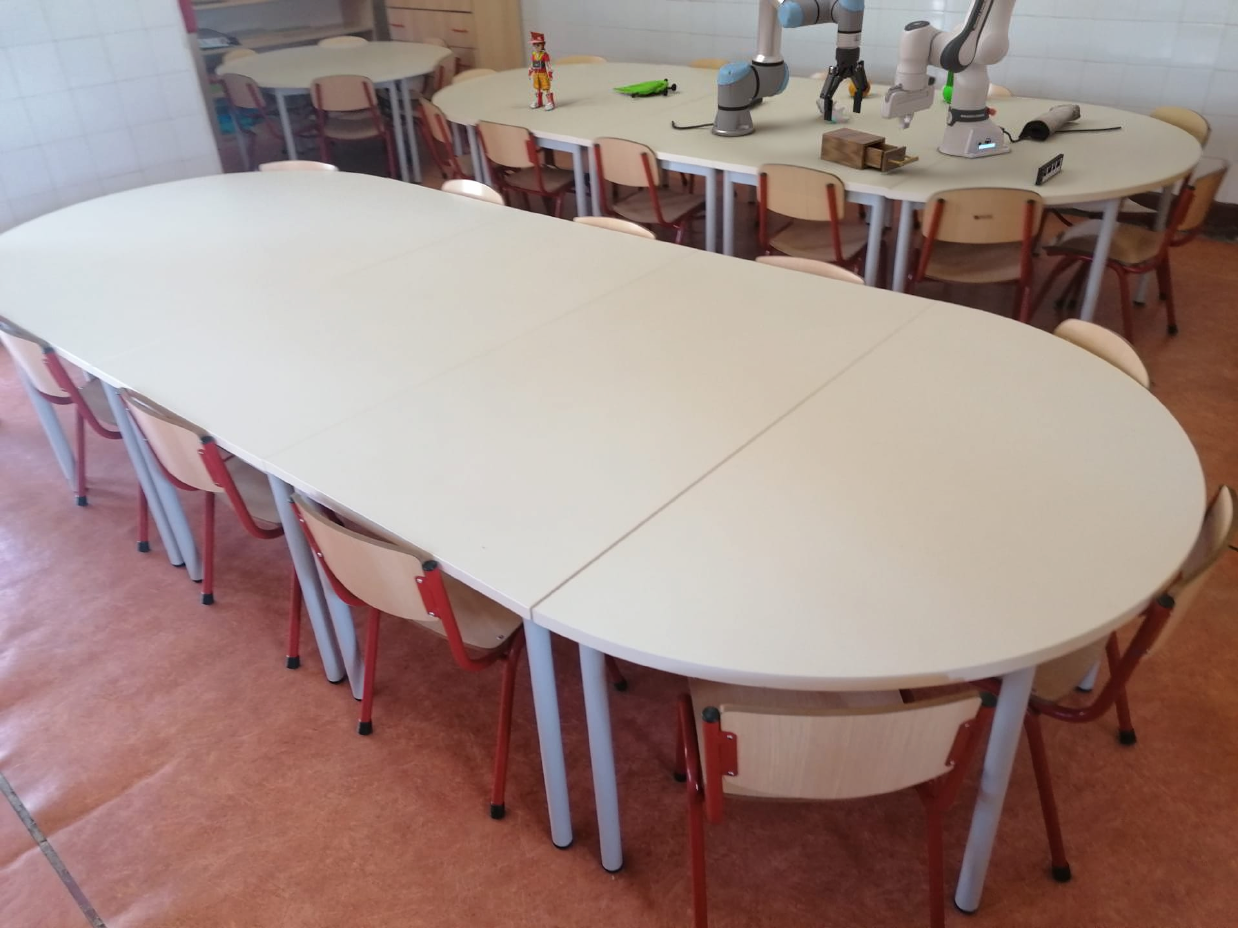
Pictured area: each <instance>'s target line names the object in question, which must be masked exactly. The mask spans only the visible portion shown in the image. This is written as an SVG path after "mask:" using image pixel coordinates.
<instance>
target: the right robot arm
mask: <svg viewBox="0 0 1238 928" xmlns="http://www.w3.org/2000/svg"><path fill="white" fill-rule="evenodd" d="M1016 3H1017V0H970V5H969V8H968V10H967V13H966V16H965V18H964V21H961V22H959V23H958V24H956V25H955V26H954V28H953V29H952V30H951V32H949V31H945V30H941V29H938V28H936V27H935V26H933V25H932V24H931V22H930V21H928V20H916V21H911V22H909V23H907V24H906V25H905V26H904V27H903V29H902V32H901V35H900V39H899V45H898V50H897V51H898V52H897V58H898V64H897V67H896V69H895V77H894V85H890V86H889V87H888V88H887V89H886V91H885V93H884V95H883V98H882V102H881V107H880V117H881V118H882V119H885V120H893V119H896V118H897V121H898V129H899V130H900V131H904V130H907V129H910V126H911V122H912V120H913V119H914V116H915V113H918V112H921V111H925V110H929V109H930V108H931V107H932V106H933V104H934V100H935V99H934V98H935V93H936V92H935V91H936V87H935V85H936V83H937V76H934V75H929V74H927V72H928V66H930V67H931V66H932V67H934V68H938V69H942V70H945V71H947V72H948V71H949V72H952V73H954V84H953V91H952V98H951V103H950V105H948V110H947V115H946V127H945V131H944V133H943V137H942V140H941V142H940V144H939V147H938V151H939V152H941V153H943V154H945V155H949V156H954V157H955V156H956V157H964V158H970V159H975V158H980V157H988V156H994V155H1000V154H1001V155H1002V154H1007V153H1010V150H1011V149H1010V146H1009V145H1008V144H1007V143H1005V135H1007V136H1008V139H1009V141H1010V143H1018V142H1020V141H1022V140H1024V139H1026V138H1029V137H1028V136H1024V137H1021V138H1020V139H1016V140H1014V139H1012V135H1011V133H1009V131H1007V130H1006V128H1005V127H1002V126H1000V125H997V123H995V122H994V121H993V120H992V119H991V118H990V116H991V117H994V116H995V115H997V110H996V109H995V108H993V107H991V108H990V107H989V106H987V102H988V95H989V90H990V85H991V80H990V76H989V74H988V66H993V65H996V64H998V63H1000V62H1002V60H1003V59H1004V58H1005V57H1006V56H1007V54H1008V52H1009V48H1010V39H1009V30H1010V25H1011V20H1012V19H1011V18H1012V15H1013V11H1014V7H1015V5H1016ZM1121 129H1122V126H1116V127H1114V126H1113V127H1104V128H1088V129H1086V128H1085V129H1060V130H1059V129H1057V130H1056V131H1055V132H1054V133H1053V134H1057V133H1083V132H1087V133H1088V132H1106V131H1113V130H1114V131H1115V130H1121Z"/></svg>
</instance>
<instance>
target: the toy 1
mask: <svg viewBox="0 0 1238 928" xmlns="http://www.w3.org/2000/svg"><path fill="white" fill-rule="evenodd" d="M529 33H530V35H531V36H528V37H527V38H528V39H529V40H528V41H527V43H529V44H530V43H531V44H532V48H533V50H534V51H533V52H532V55H531V58H530V59H531V63H530V66H528V74H527V75H528V76H527V77H528V79H529V80H531V75H532V74H533V84H532V85H533V86H532V87H533V88H534V89H535V90H536V92H534V95H535V97H536V100H535V101H533V102H531V105H530V108H531V109H535V108H538V107H542V106H544V101H543V100H544V99H543V95H544V92H546V94H545V97H546V99H547V103H546V104H545V106H544V110H546V111H549V110H553V109H554V107H555V106H556V105H555V99H554V92H551V91H550V90H551V86H552V84H551V82H552V81H553V80H554V77H553V73H554V71H555V70H554V69H552V68H551V63H550V61H551V59H550V58H551V57H550V54H549V53H548V52H547V50H546V48H545V46H546V44H547V41H545V35H544V33H543V32H542V33H539V32H535V31H529Z"/></svg>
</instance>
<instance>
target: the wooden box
mask: <svg viewBox="0 0 1238 928" xmlns="http://www.w3.org/2000/svg"><path fill="white" fill-rule="evenodd" d="M879 142H881V143H886V137H884V136H881V135H877V134H872V133H868V132H865V131H861V130H857V129H852V128H848V127H842V128H838V129H833V130H830V131H827V132H824V133H822V137H821V149H820V150H821V151H820V159H822V160H826V161H829V162H832V163H835V164H840V165H844V166H847V167H850V168H854V169H858V170H864V169H867V168H871V166H869V165H866V164H863V162H864V153H865V146H869V145H872V144H876V143H879Z"/></svg>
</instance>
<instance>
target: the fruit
mask: <svg viewBox="0 0 1238 928" xmlns="http://www.w3.org/2000/svg"><path fill="white" fill-rule="evenodd" d="M867 82H868V86H869V87H868V89H866V92H863V98H864V97H866V96H868V95H869V93H870V91H871V84H870V81H869V80H868V79H867ZM855 91H857V90H856V88H855V86H854V84H853V82H852V81H851V82H850V83H849V85H848V93H849V95H850V96H851V97H853V98H854V92H855Z"/></svg>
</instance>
